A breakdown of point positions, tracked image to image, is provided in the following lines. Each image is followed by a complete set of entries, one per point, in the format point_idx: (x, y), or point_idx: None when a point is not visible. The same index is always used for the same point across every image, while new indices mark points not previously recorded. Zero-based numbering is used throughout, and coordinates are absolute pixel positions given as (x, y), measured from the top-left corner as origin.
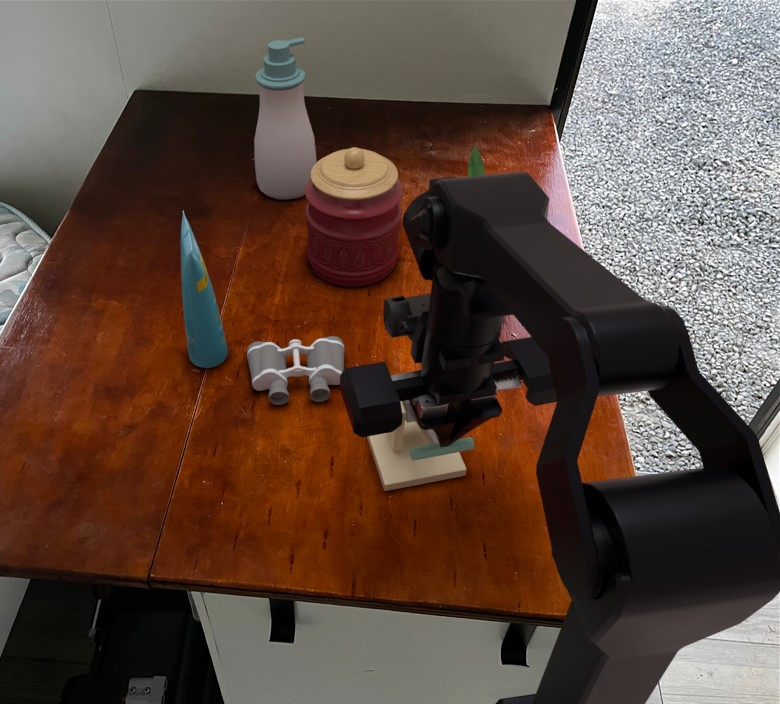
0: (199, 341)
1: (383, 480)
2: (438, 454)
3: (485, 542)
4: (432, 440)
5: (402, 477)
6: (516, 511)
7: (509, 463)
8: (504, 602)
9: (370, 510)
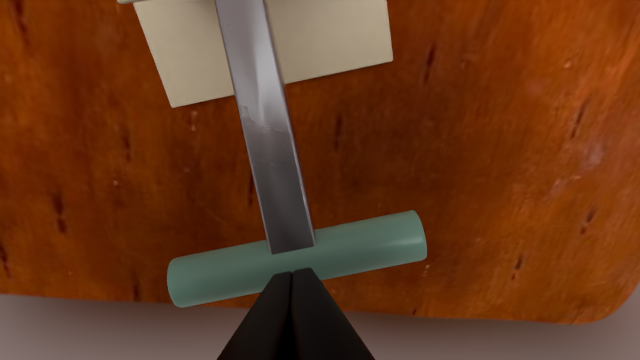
0: None
1: (166, 93)
2: None
3: None
4: (263, 224)
5: (217, 85)
6: (474, 151)
7: (510, 17)
8: (393, 309)
9: (150, 149)
